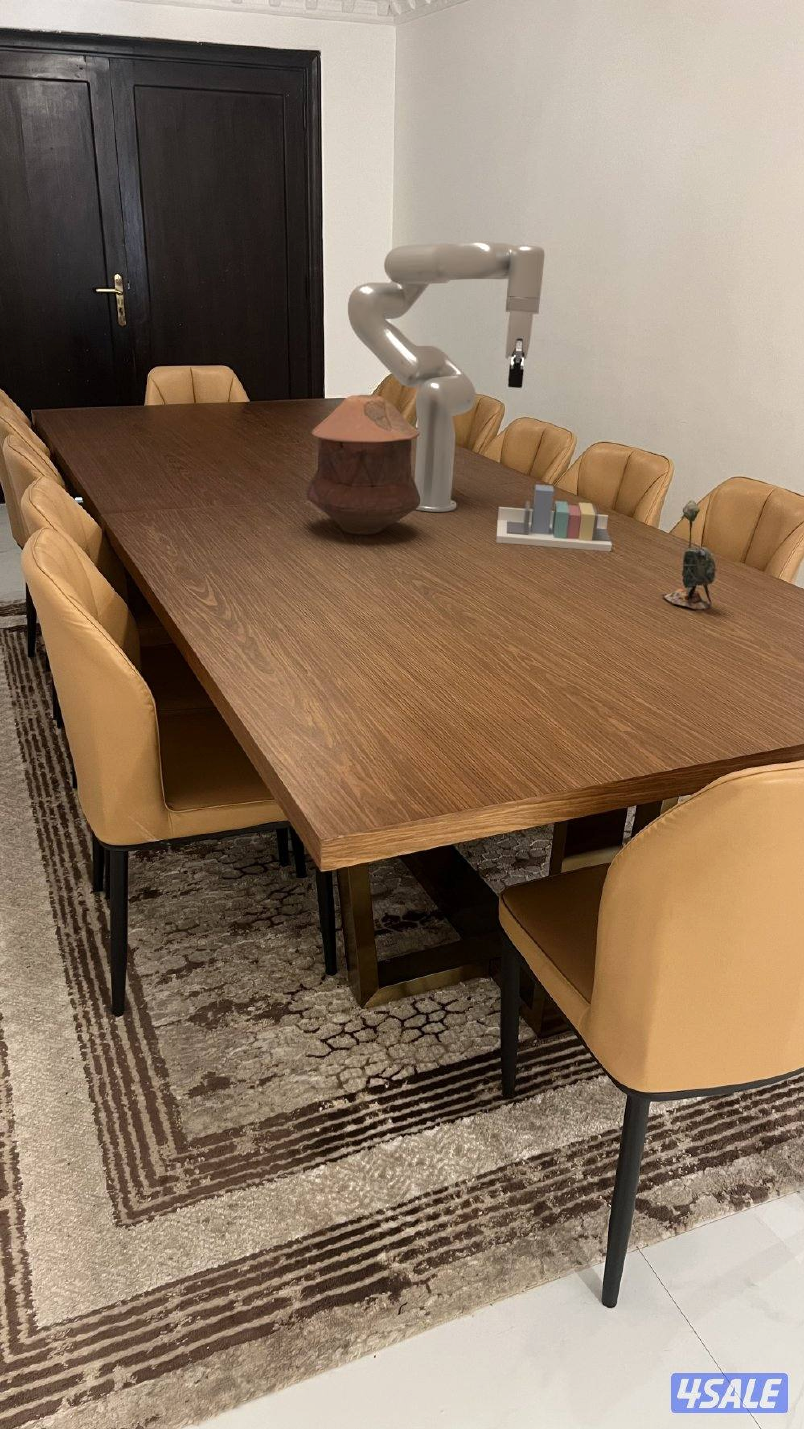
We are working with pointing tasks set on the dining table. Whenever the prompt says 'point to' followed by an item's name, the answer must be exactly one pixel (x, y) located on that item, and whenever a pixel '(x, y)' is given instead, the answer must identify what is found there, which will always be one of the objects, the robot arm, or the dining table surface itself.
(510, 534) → the book shelf
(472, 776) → the dining table surface
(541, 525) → the boxed book
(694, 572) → the green and brown figurine
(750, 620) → the dining table surface
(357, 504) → the pottery vessel
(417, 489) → the robot arm
